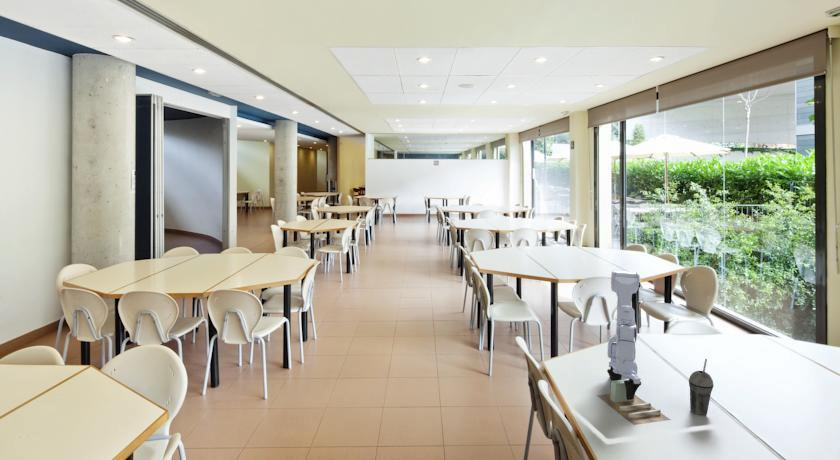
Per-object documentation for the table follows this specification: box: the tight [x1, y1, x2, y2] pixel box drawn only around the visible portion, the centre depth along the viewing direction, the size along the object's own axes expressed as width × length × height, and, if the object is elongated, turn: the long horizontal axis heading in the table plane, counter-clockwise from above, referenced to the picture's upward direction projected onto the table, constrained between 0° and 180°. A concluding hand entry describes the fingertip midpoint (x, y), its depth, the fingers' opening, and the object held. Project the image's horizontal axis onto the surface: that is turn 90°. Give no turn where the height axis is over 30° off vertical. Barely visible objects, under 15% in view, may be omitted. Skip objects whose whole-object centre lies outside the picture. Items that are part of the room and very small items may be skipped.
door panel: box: [610, 379, 636, 403], centre depth 163 cm, size 8×2×7 cm, turn 103°
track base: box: [596, 393, 671, 426], centre depth 158 cm, size 14×20×3 cm
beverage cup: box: [688, 358, 714, 417], centre depth 154 cm, size 7×7×20 cm
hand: (622, 394), depth 163 cm, fingers open, 7 cm apart
